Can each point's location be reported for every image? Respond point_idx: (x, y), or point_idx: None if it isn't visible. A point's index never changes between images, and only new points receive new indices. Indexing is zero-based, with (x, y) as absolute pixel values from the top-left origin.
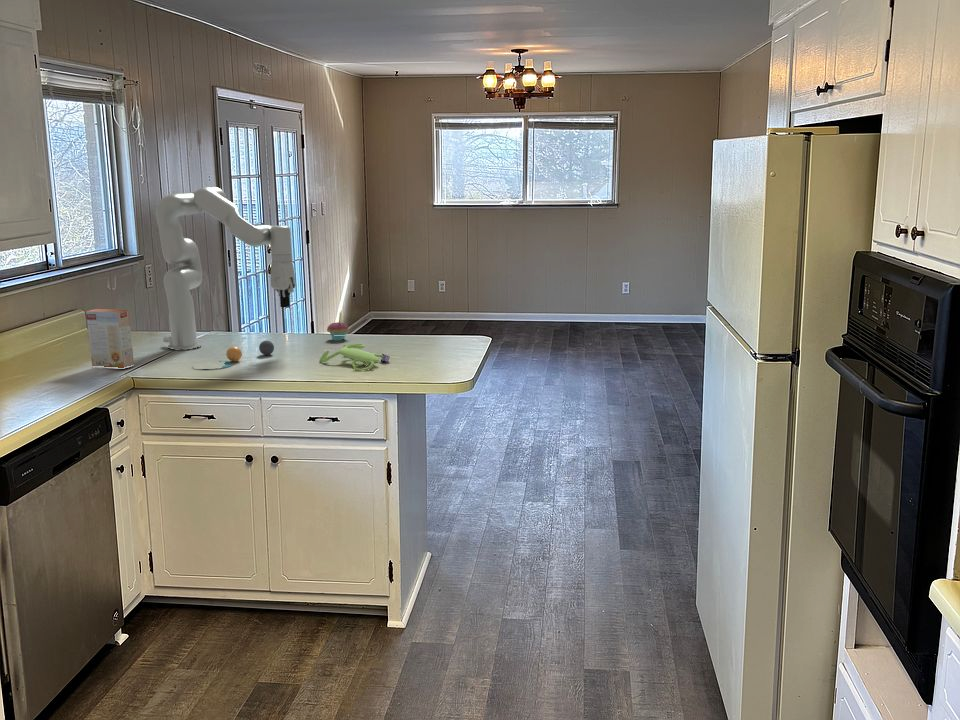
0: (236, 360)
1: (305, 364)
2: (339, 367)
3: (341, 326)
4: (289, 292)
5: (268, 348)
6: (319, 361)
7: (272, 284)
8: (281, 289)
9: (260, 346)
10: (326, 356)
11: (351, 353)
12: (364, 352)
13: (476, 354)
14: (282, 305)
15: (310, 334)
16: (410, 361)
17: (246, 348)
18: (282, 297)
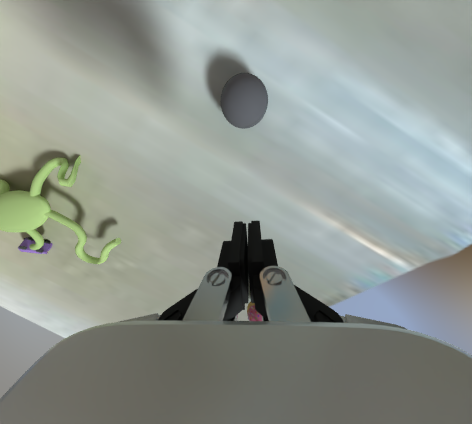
0: None
1: (76, 121)
2: (17, 162)
3: (250, 317)
4: (138, 320)
5: (221, 96)
6: (78, 157)
7: (450, 409)
8: (172, 321)
9: (243, 73)
10: (63, 172)
11: (3, 201)
12: (1, 222)
13: (48, 328)
14: (236, 226)
15: (355, 291)
16: (32, 266)
17: (378, 105)
18: (228, 263)
